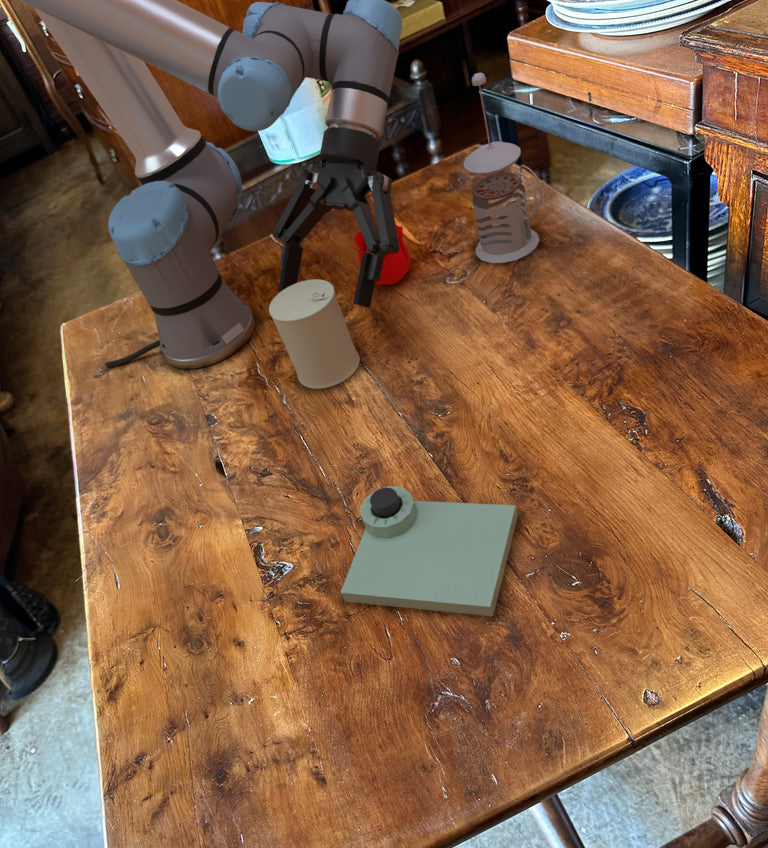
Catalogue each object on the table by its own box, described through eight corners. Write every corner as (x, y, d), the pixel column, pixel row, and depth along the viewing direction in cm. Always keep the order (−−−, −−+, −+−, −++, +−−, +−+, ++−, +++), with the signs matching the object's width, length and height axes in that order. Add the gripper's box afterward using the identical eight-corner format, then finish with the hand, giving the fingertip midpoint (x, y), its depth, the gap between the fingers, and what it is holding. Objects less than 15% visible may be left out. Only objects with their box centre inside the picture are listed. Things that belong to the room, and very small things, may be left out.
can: (352, 386, 107) (324, 313, 99) (290, 392, 110) (258, 321, 102) (365, 344, 113) (340, 271, 105) (307, 350, 116) (277, 280, 108)
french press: (494, 224, 125) (464, 58, 108) (561, 230, 119) (541, 54, 101) (463, 259, 121) (426, 91, 103) (531, 267, 115) (504, 90, 97)
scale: (341, 601, 83) (330, 581, 81) (378, 505, 91) (369, 485, 88) (493, 616, 77) (487, 596, 74) (519, 512, 85) (514, 490, 82)
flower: (424, 271, 122) (412, 224, 116) (391, 299, 119) (376, 252, 113) (389, 261, 127) (375, 216, 121) (356, 288, 124) (340, 242, 118)
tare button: (370, 518, 86) (366, 507, 84) (378, 497, 87) (374, 486, 86) (396, 519, 84) (392, 508, 83) (404, 498, 86) (400, 487, 85)
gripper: (447, 145, 99) (412, 316, 103) (301, 142, 113) (275, 293, 117) (415, 124, 93) (379, 306, 97) (265, 123, 106) (238, 283, 110)
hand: (322, 299), depth 107 cm, fingers open, 13 cm apart
